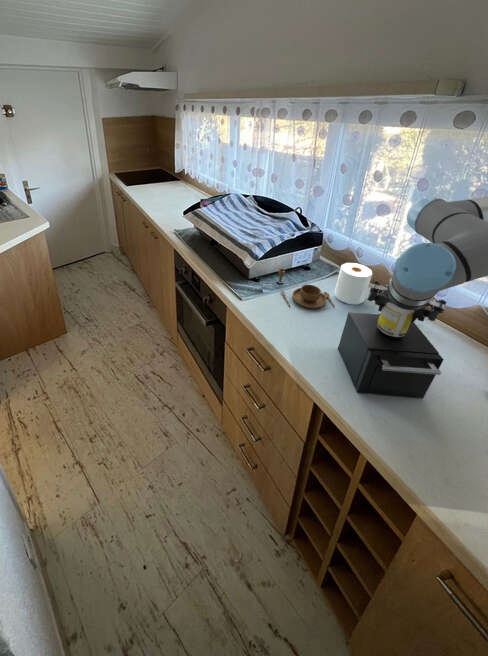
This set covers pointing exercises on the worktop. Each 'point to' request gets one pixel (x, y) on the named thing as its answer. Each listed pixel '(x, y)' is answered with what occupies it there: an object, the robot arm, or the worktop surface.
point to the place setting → (307, 295)
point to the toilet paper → (353, 283)
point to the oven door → (398, 373)
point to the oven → (376, 341)
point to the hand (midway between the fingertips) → (396, 311)
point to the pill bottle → (394, 320)
